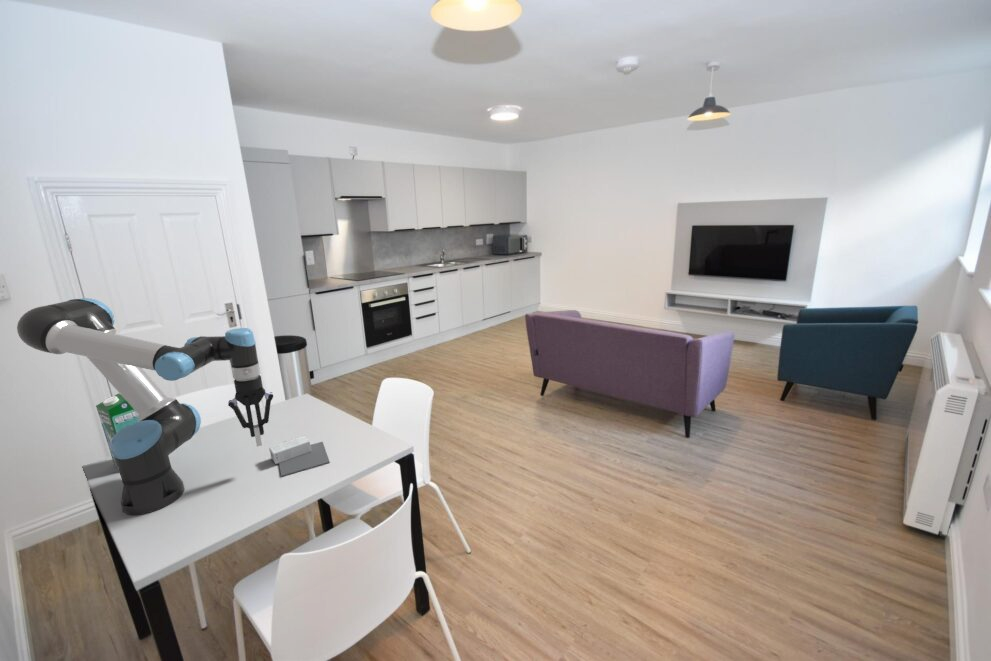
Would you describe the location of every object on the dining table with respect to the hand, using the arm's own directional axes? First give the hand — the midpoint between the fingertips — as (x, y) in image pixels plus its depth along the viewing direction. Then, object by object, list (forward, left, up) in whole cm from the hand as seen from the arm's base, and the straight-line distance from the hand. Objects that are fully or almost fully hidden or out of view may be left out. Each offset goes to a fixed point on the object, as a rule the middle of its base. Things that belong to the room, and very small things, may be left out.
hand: (259, 444), depth 143 cm
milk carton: (-40, +32, -10) cm, 52 cm away
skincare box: (+3, +3, -7) cm, 8 cm away
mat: (+12, 0, -9) cm, 15 cm away
